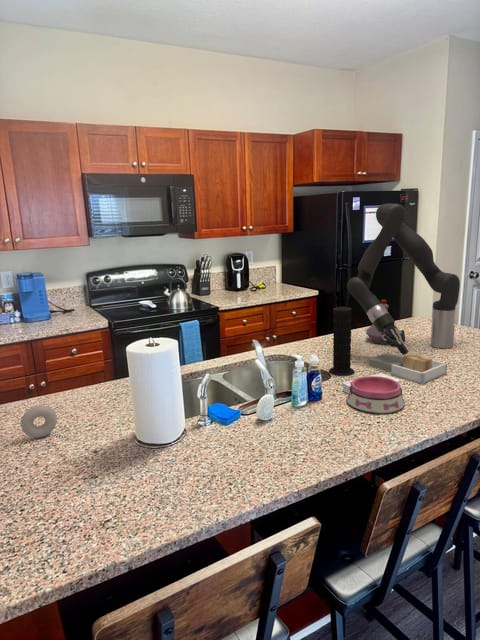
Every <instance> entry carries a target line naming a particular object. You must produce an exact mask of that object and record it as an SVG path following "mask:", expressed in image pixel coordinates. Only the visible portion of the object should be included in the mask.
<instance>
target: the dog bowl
mask: <svg viewBox="0 0 480 640" xmlns="http://www.w3.org/2000/svg"><path fill="white" fill-rule="evenodd" d="M345 400H346V401H345V402H346V405H348V407H350V408H351V409H353V410H355V411H357V412H361V413H365V414H370V415H380V416H381V415H383V416H384V415H391V414H392V415H393V414H396V413H398V412H401V411H402V410H404V408H405V406H406V404H405V403H406V402H405V399H404V396H403V390H402V387H401V385H400V383H399V382H398V381H396V380H394V379H392V378H390V377H384V376H379V375H377V376H374V375H371V376H370V375H369V376H368V375H367V376H361V377H358V378H355V379H353V380H352V382H351V383H350V385H349V391H348V394H347V397H346V399H345Z"/></svg>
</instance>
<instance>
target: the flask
mask: <svg viewBox="0 0 480 640" xmlns="http://www.w3.org/2000/svg"><path fill="white" fill-rule="evenodd" d="M380 303H381V304H382V305H383V306H384V307H385V309H386V310H387V311H388V310H389V304H387V299H381V300H380ZM365 332H366V335H367V336H368V337H369V339H370V340H371V341H372V342H373V343H377V344H382V343H383V344H385V345H386V343H385V342H383V341H382V340H381V338H382V337H383V335H382V333H381V332H378V330H377V329H376V328H375V326H374V325H373V324H371V326H369V327H368V328H366V331H365Z"/></svg>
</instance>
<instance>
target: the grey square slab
mask: <svg viewBox="0 0 480 640" xmlns="http://www.w3.org/2000/svg"><path fill="white" fill-rule="evenodd" d="M368 362H369V363H368V367H371V368H374V369H378V370H381V371H385V372H387V373H391V371H392V365H393V364H394V365H397V366H401V367H403V355H398V354H394V353H390V352H384V353H383V354H379V355H377V356H374V357H371V358H369V359H368Z"/></svg>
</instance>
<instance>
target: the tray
mask: <svg viewBox="0 0 480 640" xmlns="http://www.w3.org/2000/svg"><path fill="white" fill-rule="evenodd" d="M447 371H448V363H447V362H443V361H439V360H438V361H437V360H434V359H432V369H429V370H427V371H424V372H418V371H415V370H411V369H408V368H404V367H401V366H397V365H394V364H393V365H392V371H391V372H390V373H391V375H390V376H393V377H394V376H395V377H397V378H401V379H404V380H407V381H410V382H414V383H417V384H420V385H424V384H426V383H428V382H431V381H433V380H435V379H437V378H439V377H442V376H444V375H447V373H448V372H447Z"/></svg>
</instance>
